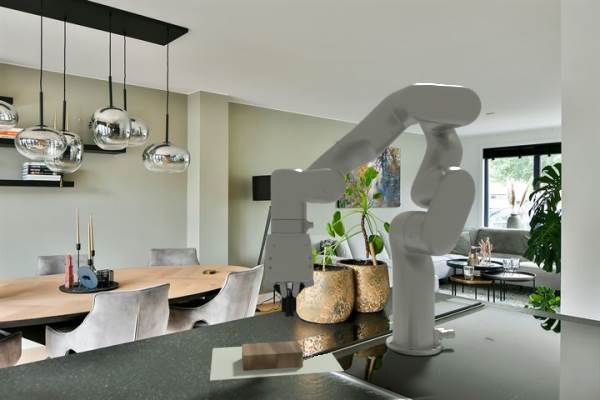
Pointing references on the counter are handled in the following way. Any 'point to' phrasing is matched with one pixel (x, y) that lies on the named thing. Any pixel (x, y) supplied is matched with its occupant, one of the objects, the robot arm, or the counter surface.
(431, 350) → the robot arm
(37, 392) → the counter surface
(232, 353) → the mat
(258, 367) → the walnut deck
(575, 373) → the counter surface
